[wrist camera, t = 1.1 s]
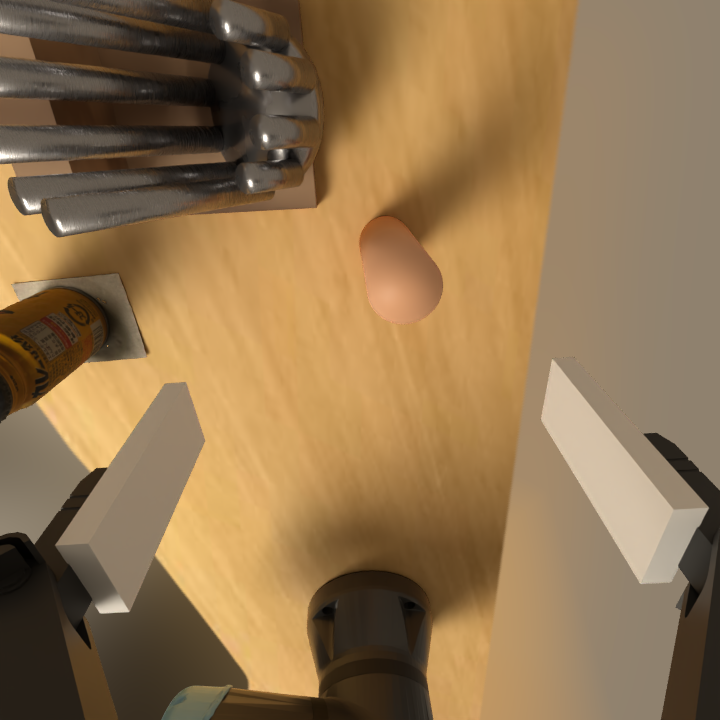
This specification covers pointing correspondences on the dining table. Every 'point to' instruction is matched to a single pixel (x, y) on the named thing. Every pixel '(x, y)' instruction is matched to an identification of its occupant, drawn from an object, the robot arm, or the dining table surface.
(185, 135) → the socket
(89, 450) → the dining table surface
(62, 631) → the robot arm
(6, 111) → the socket base
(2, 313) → the condiment
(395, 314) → the peg
